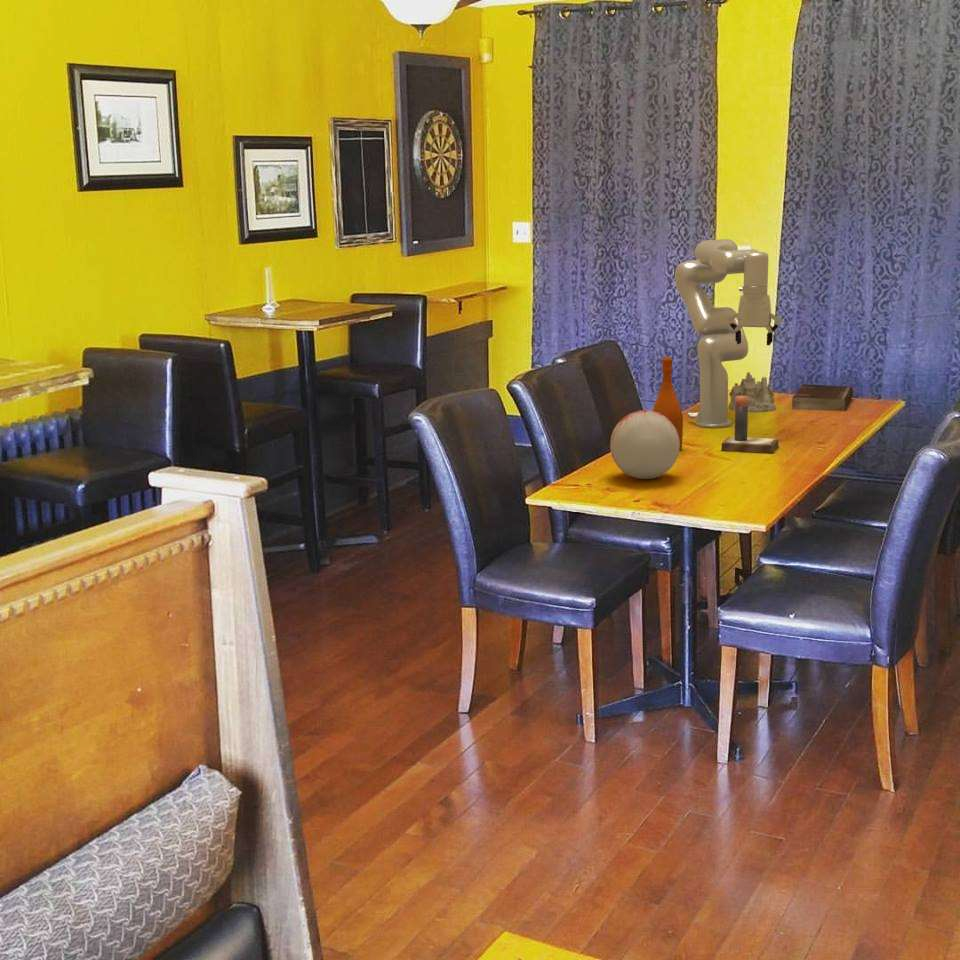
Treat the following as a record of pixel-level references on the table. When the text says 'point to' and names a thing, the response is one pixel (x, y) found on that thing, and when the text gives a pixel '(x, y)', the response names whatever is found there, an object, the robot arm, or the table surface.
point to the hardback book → (822, 397)
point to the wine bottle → (669, 399)
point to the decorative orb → (644, 444)
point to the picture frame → (751, 445)
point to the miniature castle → (753, 395)
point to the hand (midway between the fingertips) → (753, 344)
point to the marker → (741, 418)
